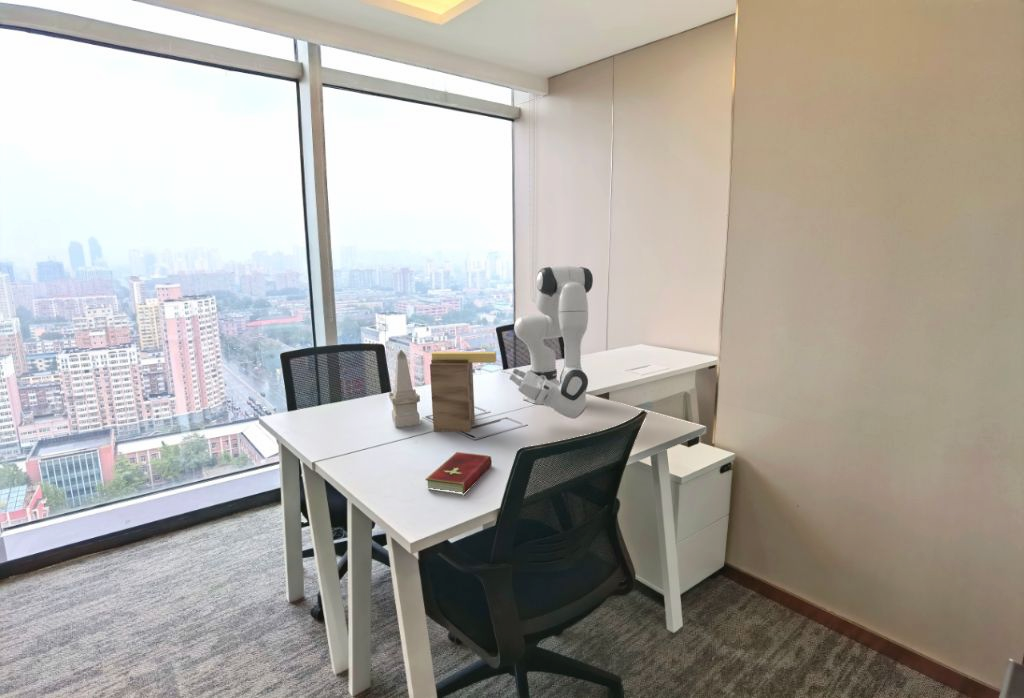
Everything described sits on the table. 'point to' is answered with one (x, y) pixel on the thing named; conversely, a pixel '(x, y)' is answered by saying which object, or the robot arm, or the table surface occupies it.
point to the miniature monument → (404, 395)
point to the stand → (452, 395)
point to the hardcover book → (459, 472)
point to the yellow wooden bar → (466, 356)
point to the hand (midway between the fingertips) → (512, 373)
